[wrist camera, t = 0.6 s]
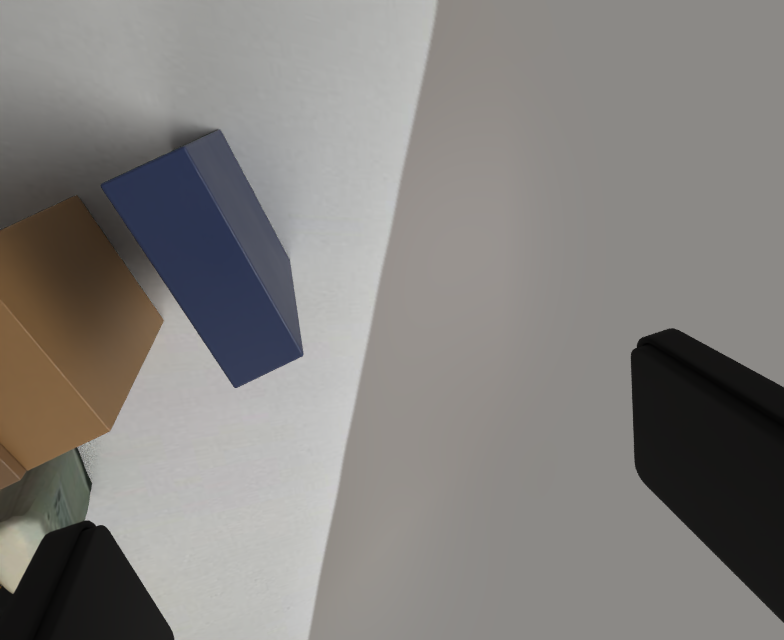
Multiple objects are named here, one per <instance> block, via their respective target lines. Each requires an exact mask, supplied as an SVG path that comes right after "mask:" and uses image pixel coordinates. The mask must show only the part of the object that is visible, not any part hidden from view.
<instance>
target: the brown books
mask: <svg viewBox="0 0 784 640" xmlns="http://www.w3.org/2000/svg"><path fill="white" fill-rule="evenodd" d="M163 321H164V320H163V319H162V317H161V316H160V314H159V313H158V311H157V310H156V308H155V307H154V306H153V304H152V303H151V301H150V300H149V298H148V297H147V295H146V294H145V293H144V291H143V290H142V288H141V287H140V285H139V284H138V282H137V281H136V280H135V278H134V277H133V275H132V274H131V272H130V271H129V269H128V268H127V266H126V265H125V264H124V262H123V261H122V259H121V258H120V256H119V255H118V253H117V252H116V251H115V249H114V248H113V246H112V245H111V243H110V242H109V240H108V239H107V238H106V236H105V235H104V233H103V232H102V230H101V229H100V227H99V226H98V225H97V223H96V222H95V220H94V219H93V217H92V216H91V214H90V213H89V212H88V210H87V209H86V207H85V206H84V204H83V203H82V201H81V200H80V199H79V197H78V196H77V195H75V196H73V197H71V198H69V199H67V200H65V201H62V202H60V203H58V204H56V205H54V206H52V207H49V208H47V209H45V210H43V211H41V212H39V213H36V214H34V215H32V216H30V217H28V218H26V219H23V220H21V221H19V222H17V223H15V224H13V225H10V226H8V227H6V228H4V229H2V230H0V490H1V489H3V488H5V487H7V486H9V485H11V484H13V483H15V482H17V481H19V480H21V479H22V477H23V476H24V474H25V473H26V471H28V470H30V469H32V468H35V467H37V466H39V465H41V464H43V463H45V462H47V461H49V460H51V459H53V458H55V457H57V456H60V455H62V454H64V453H66V452H68V451H70V450H72V449H74V448H76V447H78V446H80V445H82V444H84V443H87V442H89V441H91V440H93V439H95V438H97V437H99V436H101V435H103V434H105V433H107V432H109V431H111V429H112V426H113V424H114V422H115V420H116V418H117V416H118V414H119V412H120V410H121V408H122V406H123V404H124V402H125V400H126V398H127V396H128V394H129V391H130V389H131V387H132V385H133V383H134V381H135V379H136V377H137V375H138V373H139V371H140V369H141V367H142V365H143V363H144V361H145V358H146V356H147V354H148V352H149V350H150V348H151V346H152V344H153V342H154V340H155V338H156V336H157V334H158V332H159V330H160V328H161V325H162V323H163Z"/></svg>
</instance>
